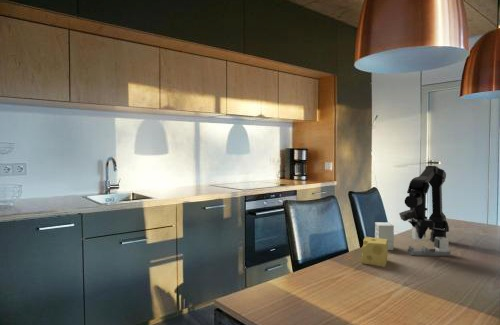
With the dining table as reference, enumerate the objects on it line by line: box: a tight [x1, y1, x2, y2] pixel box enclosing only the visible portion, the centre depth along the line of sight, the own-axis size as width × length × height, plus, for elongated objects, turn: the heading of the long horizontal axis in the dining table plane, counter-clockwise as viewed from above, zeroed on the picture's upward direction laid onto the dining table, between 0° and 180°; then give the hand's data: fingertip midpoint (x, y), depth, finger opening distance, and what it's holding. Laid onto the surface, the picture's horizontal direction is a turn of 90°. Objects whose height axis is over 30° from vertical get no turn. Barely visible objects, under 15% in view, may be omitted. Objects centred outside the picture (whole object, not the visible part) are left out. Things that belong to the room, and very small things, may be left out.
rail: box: [407, 237, 451, 257], centre depth 158 cm, size 18×4×8 cm, turn 87°
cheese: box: [360, 236, 389, 268], centre depth 147 cm, size 10×11×10 cm
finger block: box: [411, 225, 427, 242], centre depth 158 cm, size 5×4×6 cm
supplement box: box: [374, 221, 395, 251], centre depth 168 cm, size 7×7×13 cm
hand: (418, 237), depth 158 cm, fingers closed on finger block, 4 cm apart
